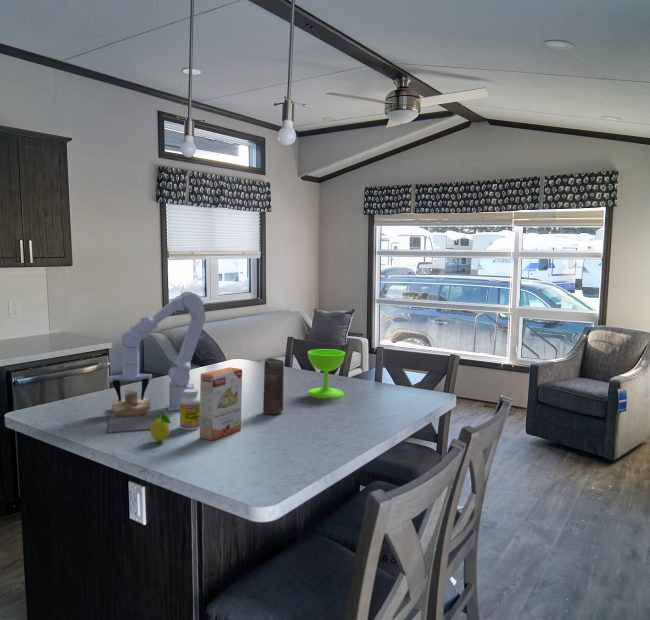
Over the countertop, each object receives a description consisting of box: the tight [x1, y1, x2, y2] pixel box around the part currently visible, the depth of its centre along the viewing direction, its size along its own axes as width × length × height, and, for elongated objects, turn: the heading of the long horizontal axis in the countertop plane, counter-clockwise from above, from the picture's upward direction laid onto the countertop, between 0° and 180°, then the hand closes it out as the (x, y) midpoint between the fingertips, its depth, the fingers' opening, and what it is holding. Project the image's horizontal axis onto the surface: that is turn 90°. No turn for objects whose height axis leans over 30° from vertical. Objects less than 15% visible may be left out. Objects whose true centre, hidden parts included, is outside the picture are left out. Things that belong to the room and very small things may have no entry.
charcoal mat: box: [107, 414, 159, 434], centre depth 187 cm, size 16×16×1 cm
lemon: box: [150, 410, 171, 443], centre depth 169 cm, size 7×6×10 cm
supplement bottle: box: [179, 388, 200, 431], centre depth 184 cm, size 7×7×13 cm
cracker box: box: [199, 366, 243, 441], centre depth 178 cm, size 14×6×21 cm, turn 148°
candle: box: [262, 357, 285, 415], centre depth 203 cm, size 8×7×20 cm
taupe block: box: [110, 389, 151, 412], centre depth 200 cm, size 13×13×5 cm
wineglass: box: [306, 348, 346, 399], centre depth 233 cm, size 16×16×18 cm
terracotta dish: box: [113, 409, 150, 417], centre depth 201 cm, size 12×12×3 cm
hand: (131, 400), depth 200 cm, fingers open, 7 cm apart
